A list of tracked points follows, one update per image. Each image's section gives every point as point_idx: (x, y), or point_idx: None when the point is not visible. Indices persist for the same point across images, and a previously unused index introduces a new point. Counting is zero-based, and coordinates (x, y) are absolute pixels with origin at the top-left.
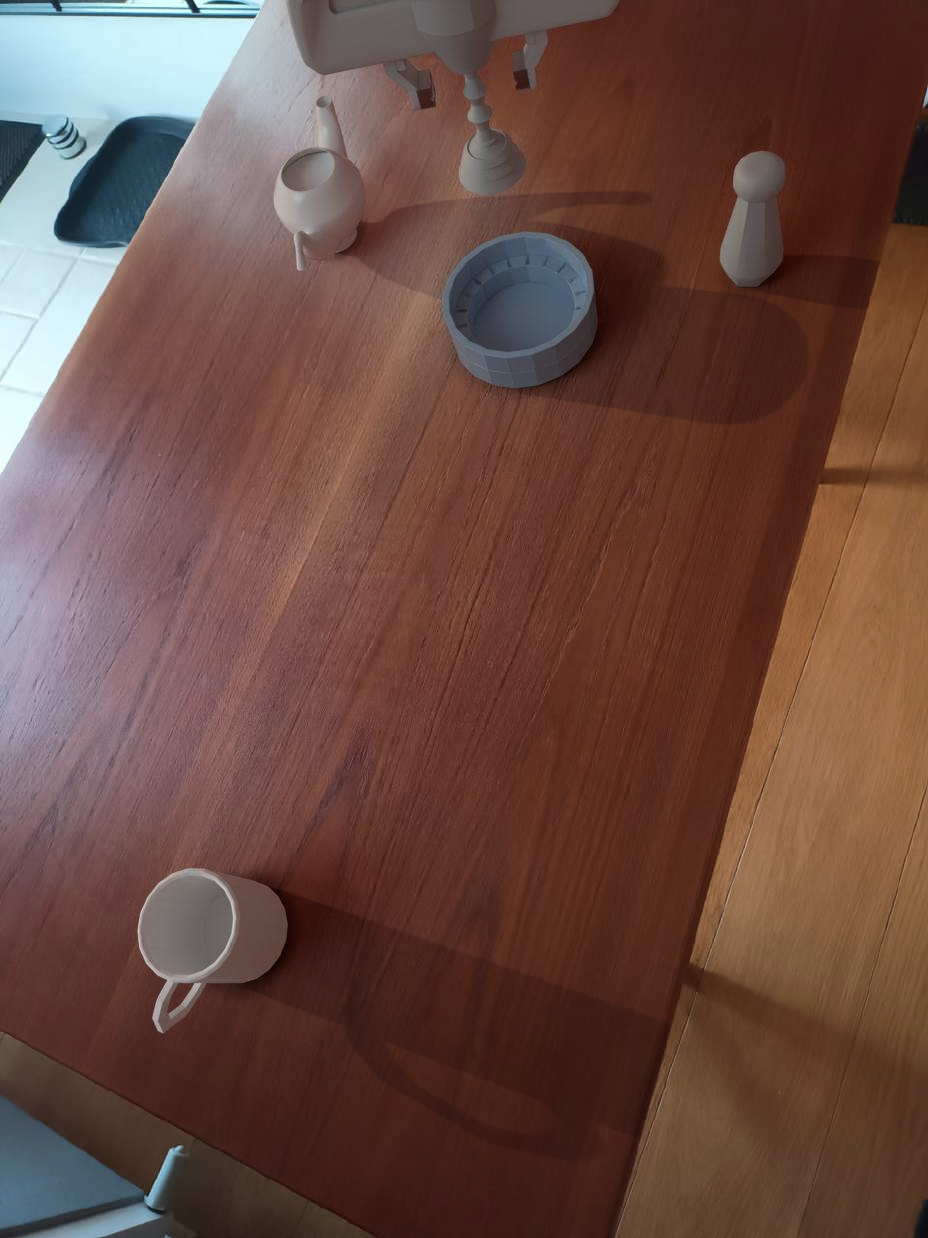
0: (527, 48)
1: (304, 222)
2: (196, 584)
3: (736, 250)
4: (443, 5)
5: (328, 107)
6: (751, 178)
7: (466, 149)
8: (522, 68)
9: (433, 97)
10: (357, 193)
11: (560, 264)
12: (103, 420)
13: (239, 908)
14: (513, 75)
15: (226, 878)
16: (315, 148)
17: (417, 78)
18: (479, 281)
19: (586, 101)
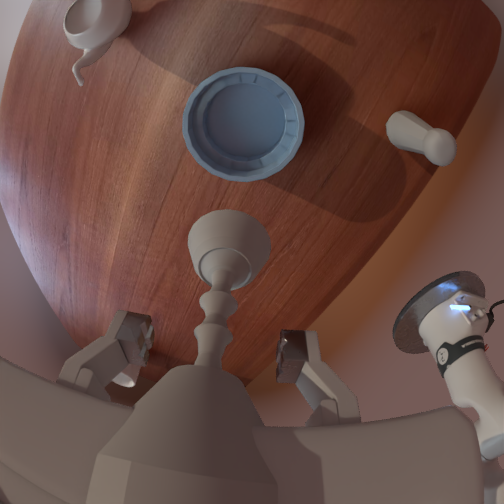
0: (309, 383)
1: (82, 47)
2: (72, 245)
3: (400, 142)
4: None
5: None
6: (437, 158)
7: (197, 268)
8: (292, 381)
9: (150, 342)
10: (121, 19)
11: (280, 91)
12: (13, 153)
13: (133, 379)
14: (276, 375)
15: (126, 370)
16: None
17: (122, 351)
18: (214, 89)
19: None
